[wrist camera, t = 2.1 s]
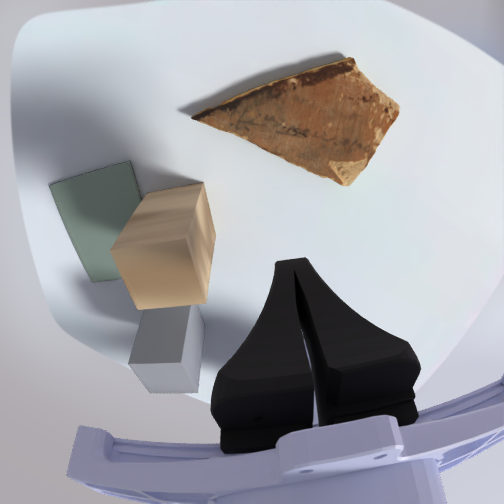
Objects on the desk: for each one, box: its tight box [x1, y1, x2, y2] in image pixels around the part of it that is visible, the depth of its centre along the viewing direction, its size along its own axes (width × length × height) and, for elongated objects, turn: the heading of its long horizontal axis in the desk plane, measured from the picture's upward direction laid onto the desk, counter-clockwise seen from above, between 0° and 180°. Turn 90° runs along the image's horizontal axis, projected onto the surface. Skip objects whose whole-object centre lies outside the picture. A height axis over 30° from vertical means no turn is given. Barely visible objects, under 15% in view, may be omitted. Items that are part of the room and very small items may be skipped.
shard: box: [191, 57, 400, 186], centre depth 16 cm, size 11×8×2 cm
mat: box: [49, 161, 142, 282], centre depth 21 cm, size 9×7×1 cm
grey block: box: [128, 304, 205, 393], centre depth 23 cm, size 4×4×7 cm
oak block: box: [110, 182, 216, 310], centre depth 18 cm, size 4×4×7 cm
